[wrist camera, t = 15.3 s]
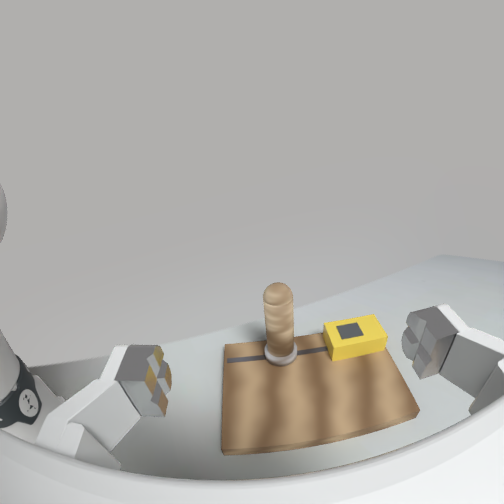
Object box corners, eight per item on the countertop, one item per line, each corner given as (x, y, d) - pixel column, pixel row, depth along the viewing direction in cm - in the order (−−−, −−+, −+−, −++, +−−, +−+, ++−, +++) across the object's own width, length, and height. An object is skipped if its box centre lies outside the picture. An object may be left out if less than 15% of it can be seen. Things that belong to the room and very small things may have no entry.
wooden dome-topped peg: (266, 368, 39) (259, 296, 34) (264, 346, 44) (257, 277, 39) (299, 364, 39) (299, 292, 34) (294, 342, 44) (293, 273, 39)
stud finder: (332, 361, 39) (333, 347, 38) (322, 336, 45) (323, 322, 43) (384, 350, 39) (388, 335, 38) (371, 327, 45) (373, 313, 43)
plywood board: (224, 455, 28) (221, 449, 27) (226, 352, 46) (224, 343, 45) (415, 417, 28) (420, 409, 27) (370, 332, 46) (371, 323, 45)
